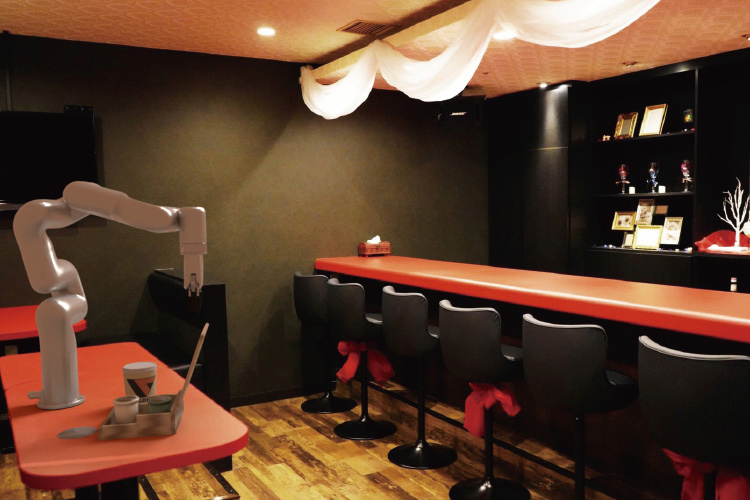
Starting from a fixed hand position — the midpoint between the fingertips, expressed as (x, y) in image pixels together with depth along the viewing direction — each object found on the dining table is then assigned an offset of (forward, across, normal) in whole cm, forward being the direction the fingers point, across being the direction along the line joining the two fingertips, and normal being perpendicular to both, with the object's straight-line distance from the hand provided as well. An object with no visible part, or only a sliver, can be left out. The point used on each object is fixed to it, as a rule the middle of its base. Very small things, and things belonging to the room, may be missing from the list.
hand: (195, 307), depth 184 cm
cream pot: (+27, +21, -17) cm, 38 cm away
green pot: (+27, +20, -9) cm, 35 cm away
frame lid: (+11, +22, 0) cm, 25 cm away
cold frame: (+28, +21, -13) cm, 37 cm away
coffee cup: (+28, +1, -16) cm, 32 cm away
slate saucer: (+28, +23, -28) cm, 46 cm away
